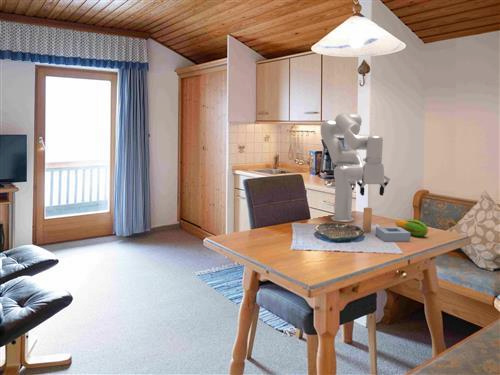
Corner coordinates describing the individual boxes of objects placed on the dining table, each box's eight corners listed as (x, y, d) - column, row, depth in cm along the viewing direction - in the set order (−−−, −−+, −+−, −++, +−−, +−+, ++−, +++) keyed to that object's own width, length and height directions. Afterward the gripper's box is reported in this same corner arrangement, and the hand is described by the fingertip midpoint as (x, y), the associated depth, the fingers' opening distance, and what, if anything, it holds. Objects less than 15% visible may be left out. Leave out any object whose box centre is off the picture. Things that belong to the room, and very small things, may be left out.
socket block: (375, 234, 209) (375, 227, 208) (399, 234, 210) (399, 226, 209) (384, 241, 197) (385, 233, 197) (409, 241, 198) (410, 233, 197)
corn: (422, 223, 201) (390, 215, 219) (420, 239, 202) (388, 229, 219) (432, 223, 204) (400, 214, 222) (431, 238, 205) (399, 229, 223)
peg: (361, 230, 218) (362, 207, 216) (369, 230, 218) (370, 207, 216) (364, 232, 214) (365, 209, 212) (371, 232, 214) (373, 209, 212)
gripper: (359, 161, 206) (357, 196, 208) (393, 161, 207) (391, 196, 210) (354, 160, 213) (352, 193, 216) (387, 160, 214) (385, 193, 217)
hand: (371, 195), depth 213 cm, fingers open, 9 cm apart
